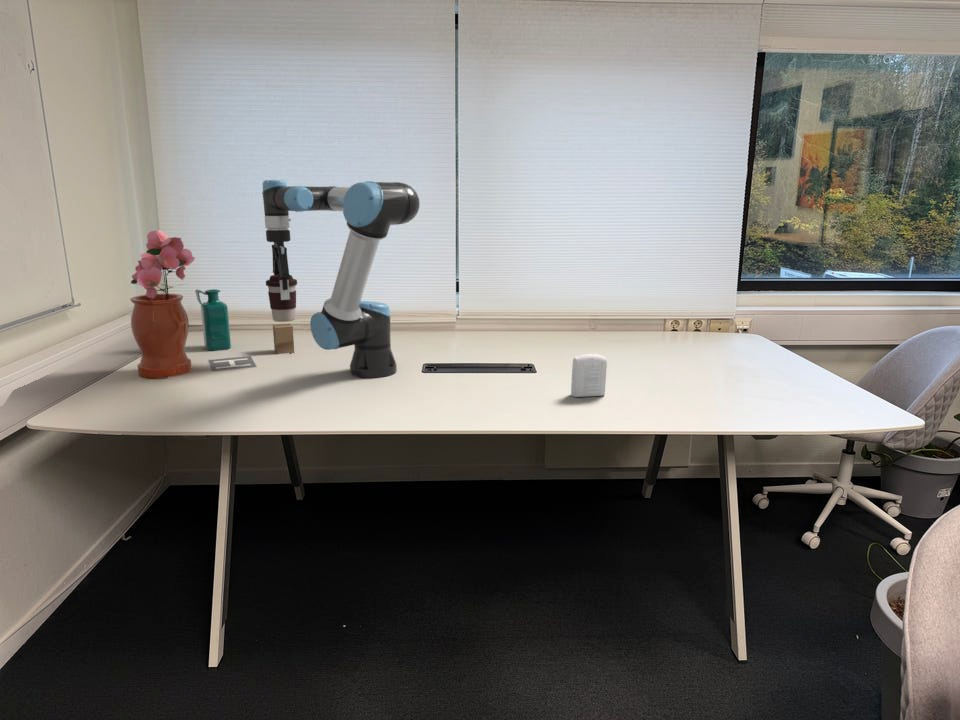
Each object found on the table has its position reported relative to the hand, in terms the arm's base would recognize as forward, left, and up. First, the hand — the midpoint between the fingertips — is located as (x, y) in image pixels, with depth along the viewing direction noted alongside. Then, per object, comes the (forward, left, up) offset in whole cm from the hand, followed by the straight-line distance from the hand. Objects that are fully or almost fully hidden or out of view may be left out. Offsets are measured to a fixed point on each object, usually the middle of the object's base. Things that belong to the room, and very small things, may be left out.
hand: (282, 297), depth 221 cm
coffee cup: (0, 0, -8) cm, 8 cm away
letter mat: (+6, +17, -23) cm, 29 cm away
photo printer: (-72, -74, -23) cm, 106 cm away
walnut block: (+16, -2, -23) cm, 28 cm away
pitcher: (+33, +20, -23) cm, 45 cm away
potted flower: (+6, +36, -23) cm, 43 cm away
